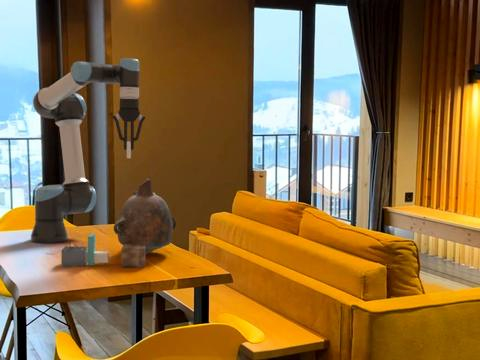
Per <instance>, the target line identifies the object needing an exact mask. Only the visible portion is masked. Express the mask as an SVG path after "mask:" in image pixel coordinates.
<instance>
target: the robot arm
mask: <svg viewBox="0 0 480 360" xmlns="http://www.w3.org/2000/svg"><path fill="white" fill-rule="evenodd" d="M90 83H97V84H98V83H100V84H101V83H102V84H107V85H118V84H119V97H120V99H119V109H118V112H117V114H115V115H112V118H113V120H114V122H115V125H116V126H115V127H116V130H117V134H118V138H119V140H120V141H123V149H124V150H125V151H126V159H131V158H132V157H131V156H132V151H134V149H135V146H134V145H135V141H138V140H139V138H140V133H141V131H142V127H143V122H144V121H145V120H146V116H144V115H142V114H141V112H140V99H138V98H140V61H139V60H138V59H136V58H131V57H129V58H126V57H125V58H121V59H120V60H119V64H109V63H98V62H88V61H75V62H73V64H72V66H71V67H70V72H68V73H67V74H65V76H63V77H61V78H60V79H59V80H57V81H55V82H54V83H53V84H51V85H50V86H48V87H44V88H41V89H39V90H38V91H37V92H36V93H35V94H34V96H33V99H32V104H33V105H32V106H33V108H34V110H35V111H36V113H37V114H38V115H39V116H41V117H43V118H46V119H54V121H55V122H54V123H55V125H56V126H58V127H59V135H60V143H61V144H60V145H61V154H62V160H63V161H62V162H63V169H64V178H65V180H64V181H63V183H62V184H48V185H43V186H40V187H38V188H37V189H36V190H35V194H34V205H35V206H34V210H35V211H34V216H35V217H34V220H35V222H34V225H33V229H32V231H31V234H30V241H31V242H33V243H38V244H56V243H64V242H67V241H68V239H69V237H68V236H69V235H68V234H69V233H68V232H67V231H68V230H67V229H66V226H65V222H64V215H72V214H73V215H75V214H83V213H88V212H92V210H93V209H94V206H95V205H96V203H97V193H96V189H95V188H94V186H92V185H90V181H89V180H88V179H86V178H87V177H86V174H85V172H86V171H85V164H84V157H83V155H84V154H83V147H82V146H83V145H82V140H81V129H80V128H81V127H80V125H81V124H82V122H83V119H84V118H85V117H86V113H87V105H86V101H85V99H84V98H83V96H82V95H81V94H78V93H76V92H77V91H79V90H81V89H82V88H83V87H86V85H88V84H90ZM120 118H121V120H122V121H123V133H122V129H121V125H120ZM137 119H138V120H139V123H138V126H137V130H136V134H135V122H136V121H137ZM129 122H130V141H128V123H129Z"/></svg>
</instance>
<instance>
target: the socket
mask: <svg viewBox="0 0 480 360" xmlns="http://www.w3.org/2000/svg"><path fill="white" fill-rule="evenodd" d="M145 253H146V244H123V245H122V247H121V268H122V269H124V268H125V269H128V268H129V269H145V266H146V254H145Z"/></svg>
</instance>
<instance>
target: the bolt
mask: <svg viewBox="0 0 480 360" xmlns="http://www.w3.org/2000/svg"><path fill="white" fill-rule="evenodd" d="M96 235H97V234H96V233H89V235H87V251H86V252H85V263H87V266H94V265H95V264H96V263H98V264H100V263H101V264H104V263H105V264H107V263H109V261H110V251H107V250H106V251H105V250H104V251H103V250H100V251H99V250H96Z"/></svg>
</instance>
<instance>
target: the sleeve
mask: <svg viewBox="0 0 480 360" xmlns="http://www.w3.org/2000/svg"><path fill="white" fill-rule="evenodd" d="M86 251H88V246H64V247H63V248H62V249H61V254H60V255H61V268H85V267H86V266H87V265H88V263H85V252H86Z"/></svg>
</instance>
